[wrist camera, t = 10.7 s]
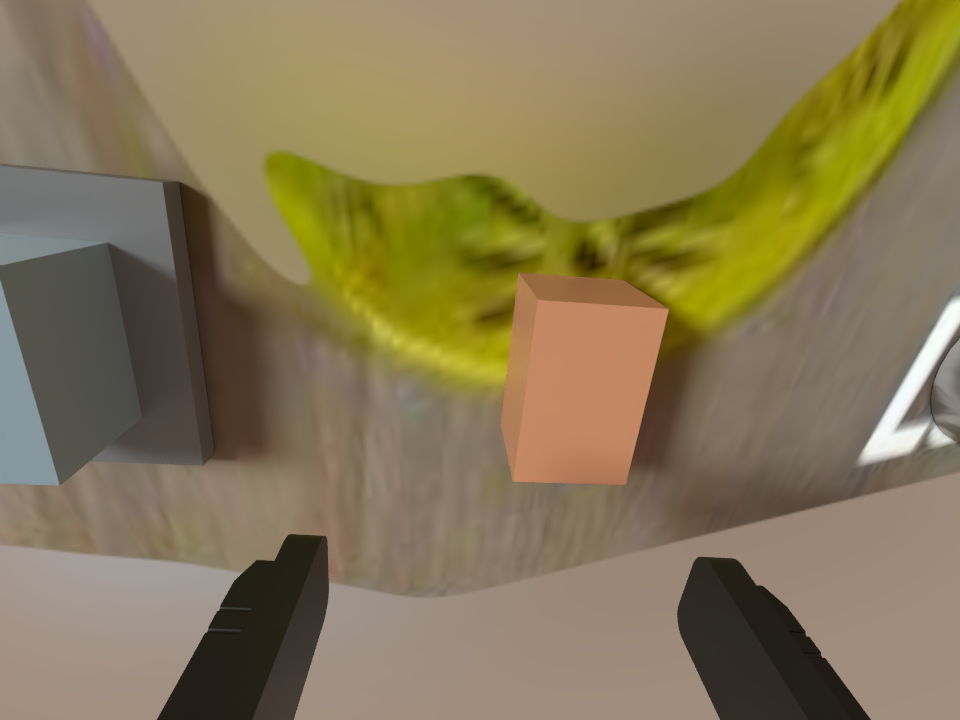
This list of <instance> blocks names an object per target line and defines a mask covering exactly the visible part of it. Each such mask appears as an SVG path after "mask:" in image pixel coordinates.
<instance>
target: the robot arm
mask: <svg viewBox="0 0 960 720" xmlns="http://www.w3.org/2000/svg"><path fill="white" fill-rule="evenodd" d="M931 407H932V414H933V417H934V419H935V422H936V425H937V426H938V427H939V428H940V429H941V431H942V432H943V433H944V434H945V435H947V436H949V437H950V438H952V439H953V440H955V441H957V442H959V443H960V339H959V340H958V341H957V342H956V343H955V345H954V346H953V347H952V348H951V349H950V351H949V353H948V354H947V356H946V358H945V359H944V361H943V363H942V364H941V366H940V368H939V371H938V373H937V376H936V378H935V381H934V384H933V389H932V395H931ZM328 593H329V579H328V545H327V538H326V536H315V535H296V534H289V535H288V536H287V537H286V539H285V540H284V542H283V545H282V547H281V549H280V551H279V553H278V555H277V557H276V559H275V561H265V560H256V561H255V562H254V563H253V564H252V565H251V566H250V567H249V568H248V569H247V570H245V571H244V572H243V573H242V574H241V575H240V576H239V577H238V578H237V579H236V580H235V581H234V582H233V584H232V586H231V588H230V590H229V591H228V593H227V595H226V597H225V599H224V600H223V602H222V604H221V606H220V610H219V611H217V613H216V615H215V616H214V618H213V620H212V622H211V624H210V626H209V628H208V632H207V633H205V634H204V636H203V638H202V640H201V642H200V643H199V645H198V647H197V649H196V651H195V652H194V654H193V656H192V658H191V659H190V661H189V663H188V665H187V667H186V669H185V670H184V672H183V674H182V676H181V677H180V679H179V681H178V683H177V685H176V686H175V688H174V690H173V692H172V694H171V695H170V697H169V699H168V701H167V703H166V704H165V706H164V708H163V710H162V712H161V713H160V715H159V717H158V719H157V720H294V716H295V713H296V710H297V707H298V704H299V700H300V697H301V694H302V691H303V687H304V684H305V681H306V678H307V675H308V671H309V668H310V665H311V661H312V658H313V655H314V652H315V649H316V645H317V642H318V639H319V635H320V632H321V629H322V626H323V622H324V619H325V614H326V609H327V603H328V595H329V594H328ZM677 615H678V616H677V617H678V626H679V630H680V634H681V637H682V639H683V641H684V643H685V646H686V648H687V650H688V652H689V654H690V656H691V659H692V661H693V662H694V665H695V667H696V669H697V671H698V673H699V675H700V678H701V680H702V682H703V684H704V686H705V688H706V690H707V693H708V695H709V697H710V699H711V701H712V703H713V705H714V708H715V710H716V712H717V714H718V716H719V718H720V720H871V719H870V718H869V717H868V715H867V714H866V713H865V711H864V710H863V709H862V707H861V706H860V704H859V703H858V702H857V700H856V699H855V698H854V697H853V695H852V694H851V692H850V691H849V690H848V688H847V687H846V686H845V684H844V683H843V682H842V680H841V679H840V677H839V676H838V675H837V674H836V672H835V671H834V669H833V668H832V667H831V665H830V664H829V663H828V661H827V660H826V659H825V658H822V656H821V652H820V651H819V649H818V648H817V647H816V645H815V644H814V642H813V641H812V640H811V639H810V637H807V636H806V634H805V630H804V629H803V628H802V626H801V625H800V624H799V622H798V621H797V620H796V618H795V617H794V616H793V614H792V613H791V612H790V610H789V609H788V607H787V606H785V605H784V604H783V603H782V602H781V601H780V600H778V599H777V598H776V597H775V596H774V595H773V594H771V593H770V592H769V591H768V590H767V589H766V588H765V587H763V586H756V584H755V583H754V581H753V580H752V579H751V577H750V576H749V574H748V573H747V572H746V570H745V569H744V567H743V566H742V565H741V563H740V562H738V561H737V560H736V559H733V558H732V559H731V558H713V557H698V558H697V559H696V560H695V561H694V563H693V566H692V569H691V572H690V574H689V577H688V580H687V583H686V586H685V589H684V591H683V594H682V597H681V600H680V603H679V606H678V613H677Z"/></svg>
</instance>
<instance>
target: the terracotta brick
mask: <svg viewBox="0 0 960 720" xmlns="http://www.w3.org/2000/svg"><path fill="white" fill-rule="evenodd" d="M668 312H669V309H668V308H667V307H665V306H664V305H662V304H660V303H659V302H657V301H656V300H654V299H652V298H651V297H649V296H648V295H646V294H644V293H643V292H641V291H640V290H638V289H637V288H635V287H633V286H632V285H630V284H629V283H627V282H625V281H624V280H613V279H600V278H586V277H573V276H560V275H546V274H533V273H519V274H518V283H517V291H516V299H515V308H514V316H513V325H512V333H511V341H510V350H509V358H508V367H507V375H506V384H505V392H504V400H503V409H502V417H501V428H502V433H503V437H504V442H505V446H506V451H507V456H508V460H509V465H510V470H511V474H512V479H513V482H545V483H578V484H611V485H626V481H627V477H628V473H629V469H630V465H631V461H632V457H633V453H634V449H635V445H636V441H637V437H638V433H639V429H640V425H641V421H642V417H643V413H644V409H645V405H646V400H647V396H648V392H649V388H650V384H651V380H652V376H653V372H654V368H655V364H656V360H657V356H658V352H659V348H660V344H661V340H662V336H663V332H664V328H665V324H666V320H667V316H668Z"/></svg>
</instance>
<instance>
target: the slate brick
mask: <svg viewBox="0 0 960 720" xmlns="http://www.w3.org/2000/svg"><path fill="white" fill-rule="evenodd" d="M140 419H142V414H141V409H140V404H139V399H138V394H137V389H136V384H135V378H134V373H133V368H132V363H131V358H130V353H129V348H128V343H127V338H126V333H125V328H124V323H123V318H122V313H121V308H120V303H119V298H118V292H117V287H116V282H115V277H114V272H113V267H112V262H111V257H110V252H109V247H108V242H98V241H86V240H73V239H61V238H49V237H37V236H24V235H12V234H0V483H4V484H33V485H61V484H62V483H63V482H65V481H66V480H67V479H68V478H69V477H71V476H72V475H73V474H74V473H76V472H77V471H78V470H79V469H80V468H82V467H83V466H84V465H85V464H87V463H88V462H89V461H90V460H91V459H93V458H94V457H95V456H96V455H98V454H99V453H100V452H101V451H102V450H104V449H105V448H106V447H107V446H109V445H110V444H111V443H112V442H113V441H115V440H116V439H117V438H118V437H120V436H121V435H122V434H123V433H124V432H126V431H127V430H128V429H129V428H131V427H132V426H133V425H134V424H135V423H137V422H138V421H139V420H140Z"/></svg>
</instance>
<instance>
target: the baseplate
mask: <svg viewBox="0 0 960 720" xmlns="http://www.w3.org/2000/svg"><path fill="white" fill-rule="evenodd" d="M0 234H12V235H24V236H37V237H49V238H61V239H73V240H86V241H98V242H108V247H109V252H110V257H111V262H112V267H113V272H114V277H115V282H116V287H117V292H118V298H119V303H120V308H121V313H122V318H123V323H124V328H125V333H126V338H127V343H128V348H129V353H130V358H131V363H132V368H133V373H134V378H135V384H136V389H137V394H138V399H139V404H140V409H141V414H142V419H140V420H139V421H138V422H137V423H135V424H134V425H133V426H132V427H131V428H129V429H128V430H127V431H126V432H124V433H123V434H122V435H121V436H120V437H118V438H117V439H116V440H115V441H113V442H112V443H111V444H110V445H109V446H107V447H106V448H105V449H104V450H102V451H101V452H100V453H99V454H98V455H96V456H95V457H94V458H93V459H91V460H90V461H106V462H130V463H154V464H178V465H202V466H203V465H204V464H205V463H206V462H207V460H208V459H209V458H210V457H211V455H212V454H213V453H214V444H213V437H212V429H211V421H210V414H209V406H208V399H207V391H206V384H205V376H204V369H203V361H202V353H201V346H200V338H199V331H198V323H197V316H196V308H195V300H194V293H193V285H192V278H191V270H190V263H189V255H188V248H187V240H186V232H185V225H184V217H183V210H182V202H181V195H180V187H179V181H170V180H159V179H149V178H139V177H129V176H119V175H109V174H98V173H88V172H78V171H68V170H58V169H48V168H37V167H27V166H17V165H7V164H0Z"/></svg>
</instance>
